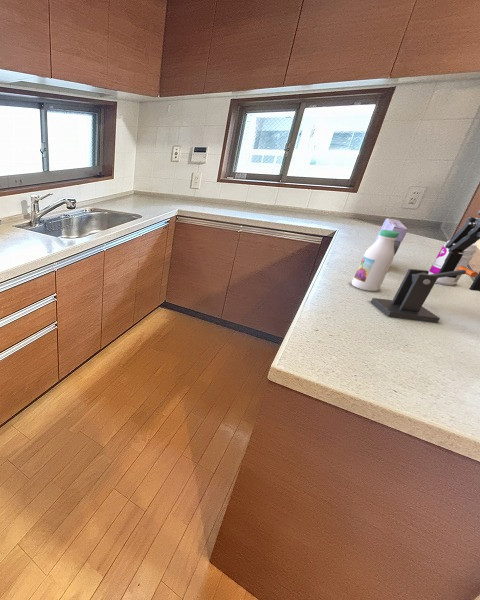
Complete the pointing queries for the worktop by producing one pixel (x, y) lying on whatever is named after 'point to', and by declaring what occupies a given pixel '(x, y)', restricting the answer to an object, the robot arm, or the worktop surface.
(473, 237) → the robot arm
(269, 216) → the worktop surface
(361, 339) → the worktop surface
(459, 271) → the switch lever
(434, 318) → the switch base
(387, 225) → the cake pan box
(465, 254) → the supplement can
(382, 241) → the milk bottle
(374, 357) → the worktop surface
